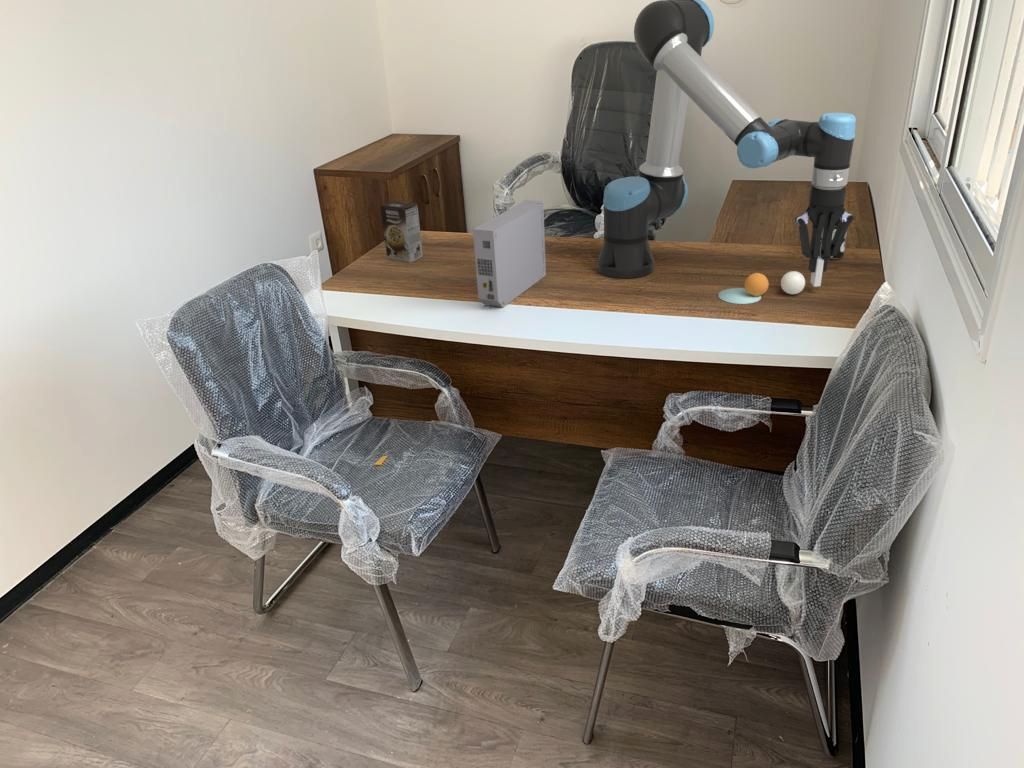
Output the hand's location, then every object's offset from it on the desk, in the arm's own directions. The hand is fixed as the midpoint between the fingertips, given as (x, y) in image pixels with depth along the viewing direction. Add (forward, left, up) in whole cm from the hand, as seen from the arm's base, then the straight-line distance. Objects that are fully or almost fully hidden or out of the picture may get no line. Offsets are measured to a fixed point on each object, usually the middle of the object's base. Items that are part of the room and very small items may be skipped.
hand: (815, 284), depth 182 cm
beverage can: (+13, +24, -2) cm, 27 cm away
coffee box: (-104, +45, -2) cm, 113 cm away
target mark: (-18, 0, -2) cm, 18 cm away
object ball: (-14, 0, +1) cm, 14 cm away
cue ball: (-6, 0, +1) cm, 6 cm away
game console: (-72, +13, -2) cm, 73 cm away
